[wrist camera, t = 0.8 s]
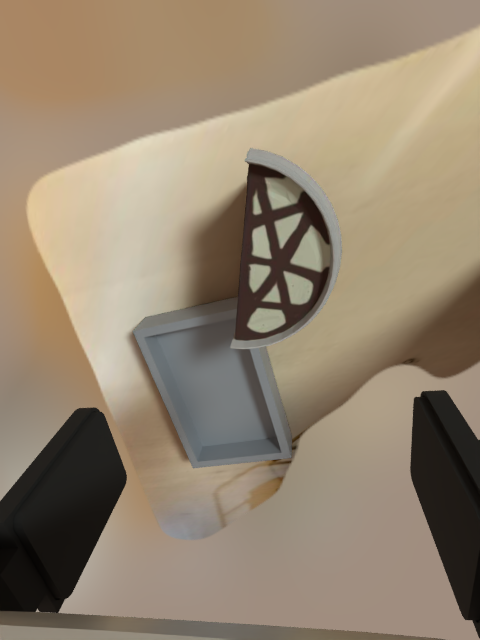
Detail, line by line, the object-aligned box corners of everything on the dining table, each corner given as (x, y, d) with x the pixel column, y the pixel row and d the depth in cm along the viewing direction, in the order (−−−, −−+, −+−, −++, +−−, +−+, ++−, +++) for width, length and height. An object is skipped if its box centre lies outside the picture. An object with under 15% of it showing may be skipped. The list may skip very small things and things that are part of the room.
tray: (250, 293, 32) (246, 306, 30) (291, 436, 39) (291, 457, 36) (145, 317, 35) (132, 331, 32) (199, 447, 41) (193, 468, 38)
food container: (316, 308, 32) (324, 369, 23) (247, 299, 33) (229, 355, 24) (345, 155, 27) (369, 158, 18) (262, 148, 27) (245, 147, 18)
